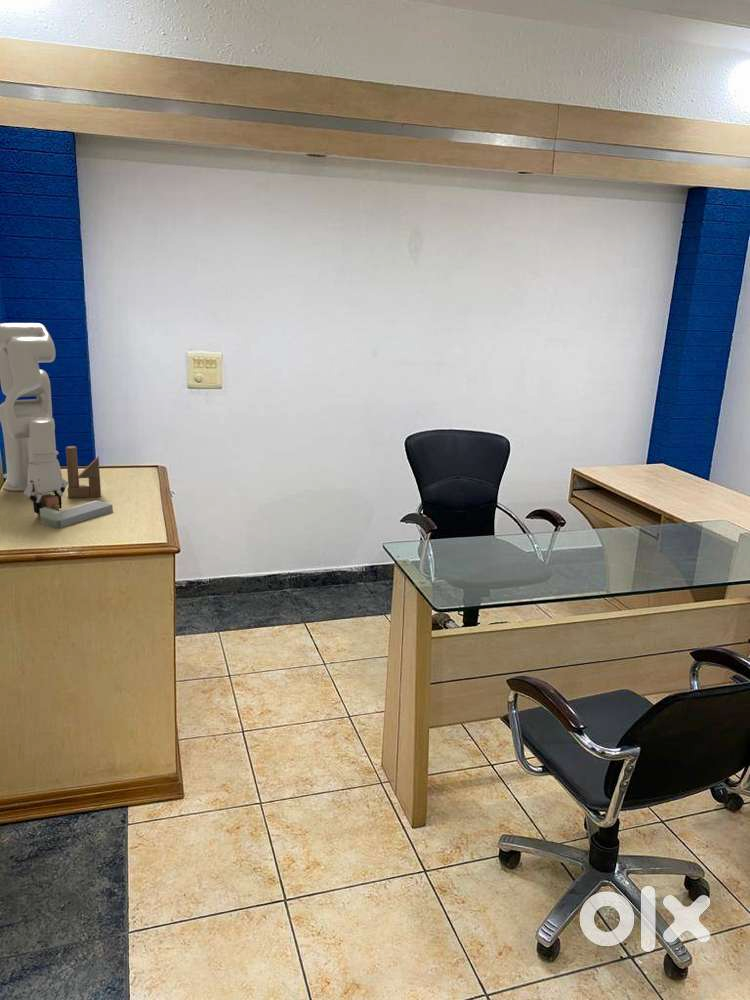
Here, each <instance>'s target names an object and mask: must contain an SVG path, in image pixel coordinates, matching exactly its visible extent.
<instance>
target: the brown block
mask: <svg viewBox="0 0 750 1000" xmlns="http://www.w3.org/2000/svg"><path fill="white" fill-rule="evenodd" d="M36 497H37V496H36ZM40 502H41V503H42V508H44V507H46V508H49V509H53V510H56V511H60V509H59V508H60V505H59V499H58V496H55V494H52V493H51V494H50V493H49V492H47V493H44V494H42V496H41V499H40ZM36 514H37V513H36ZM36 516H37V517H38V516H39V518H40V514H37V515H36Z"/></svg>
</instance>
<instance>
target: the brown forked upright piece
mask: <svg viewBox="0 0 750 1000" xmlns="http://www.w3.org/2000/svg"><path fill="white" fill-rule="evenodd" d="M65 457H66V469H67V470H66V471H67V482H68V485H67V486H68V487H67V498H69V499H73V497H74V499H75V497H77V498H100V497H101V495H102V487H101V475H100V459H99V456H97V457H96V458H94V459H93V461H91V463H89V465H88V466H86V468H84V469H83V471H82V472H80V473H79V464H78V462H79V461H78V447H77V446H75V445H68V446H66V447H65ZM80 479H88V485H85V484H81V485H80Z"/></svg>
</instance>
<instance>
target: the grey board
mask: <svg viewBox="0 0 750 1000" xmlns="http://www.w3.org/2000/svg"><path fill="white" fill-rule="evenodd" d="M113 506H114V505H113V504H111V503H107V502H104V501H101V500H97V499H96V500H92V501H88V502H84V503H81V504H79V505H74V506H71V507H67V508H64V509H61V510H60V509H59V511H56V510H53V509H49V508H46V507H44V508H40V517H39V519H40V524H41V525H44V526H47V527H50V526H51V528H53V527H54V529H57V528H59V529H62V528H65V527H67V526H71V524H72V525H75V524H78V523H82V522H84V520H85V521H88V520H90V519H94V518H97V517H100V516H103V515H107V514H109V513H113V512H114V510H113V509H114V507H113ZM87 519H88V520H87ZM77 522H78V523H77ZM74 523H75V524H74ZM64 526H65V527H64ZM61 527H62V528H61Z"/></svg>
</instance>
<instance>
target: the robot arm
mask: <svg viewBox="0 0 750 1000" xmlns="http://www.w3.org/2000/svg"><path fill="white" fill-rule="evenodd" d="M55 359H56V347H55V343H54V340H53V338H52V337H51V334H50V333H49V331H48V329H47V327H45V325H44V324H43V323H40V322H2V323H0V387H1V392H2V394H3V395H4V396H6V397H5V400H4V401H3V402H2V403H0V425H1V428H2V434H3V443H4V454H5V464H6V473H4V474H3V475H2V476H3V479H6V482H4V483H3V488H4V489H5V490H7V491H11V492H23V495H25V497H27V499H29V500H30V501H31V502H32V504H33V511H34V513H35V514H40V508H42V503H41V502H40V499H41V496H42V494H45V493H51V492H53V495H55V496H58V499H59V505H60V508H59V510H60V509H61V510H62V507H63V506H62V497H63V494H64V492H65V490H66V488H67V486H68V480H65V479H64V478H63V475H62V469H61V465H60V462H59V459H58V458H57V457H58V455H60V453H59V451H58V450H57V445H56V432H55V431H56V430H55V429H56V424H55V419H54V417H53V405H52V389H51V381H50V378H49V375H48V373H47V372H46V370H44V369H40V365H39V363H41V364H42V363H43V364H44V363H53V362H54V361H55ZM25 397H28V398H29V397H36V398H33V399H19V398H25ZM36 496H37V497H36Z"/></svg>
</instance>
